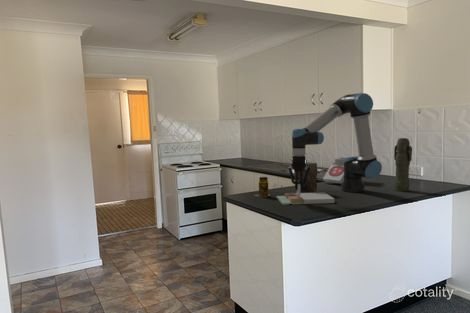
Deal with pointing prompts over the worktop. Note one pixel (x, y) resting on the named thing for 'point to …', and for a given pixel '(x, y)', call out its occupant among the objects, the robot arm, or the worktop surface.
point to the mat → (287, 201)
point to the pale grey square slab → (316, 198)
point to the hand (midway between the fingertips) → (298, 195)
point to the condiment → (263, 187)
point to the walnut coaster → (290, 194)
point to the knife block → (310, 179)
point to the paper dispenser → (335, 171)
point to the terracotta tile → (295, 199)
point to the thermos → (402, 164)
